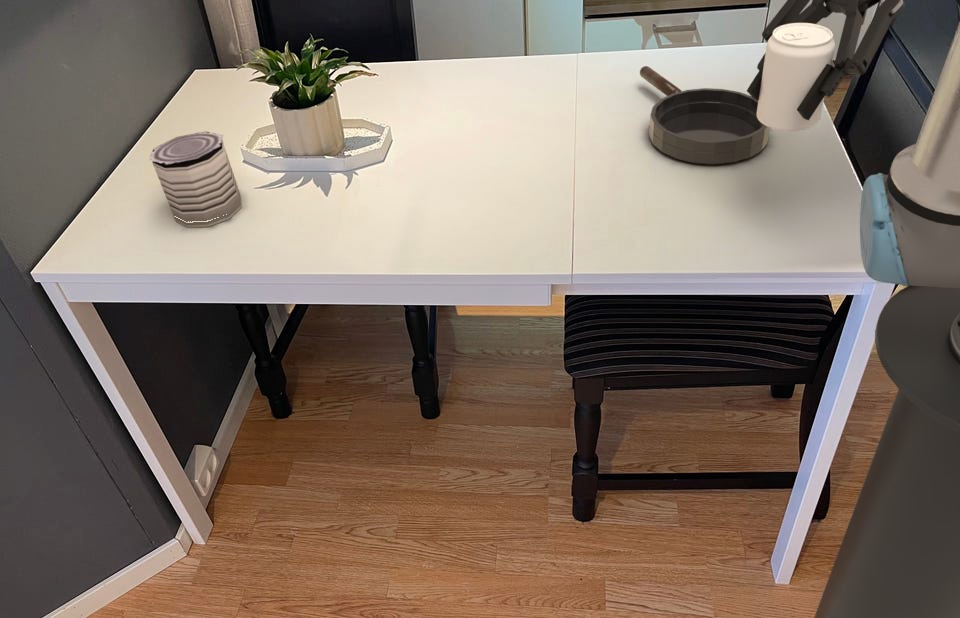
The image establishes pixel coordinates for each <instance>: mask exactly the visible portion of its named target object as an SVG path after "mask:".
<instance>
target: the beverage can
mask: <svg viewBox="0 0 960 618" xmlns="http://www.w3.org/2000/svg"><path fill="white" fill-rule="evenodd" d="M833 37H834V33H833V32H832V31H831V29H830V28H828V27H826V26H823V25H821V24H818V23H817V24H811V23H791V24H785V25H782V26H779V27H777V28H776V29H775V30H774V31H773V34H772V36H771V37H770V38H769V40H768V42H766V47H765V52H766V54H765V53H764V54H765V60H764V67H763V74H762V81H761V88H760V94H759V101H758V107H757V118H758V120H759V121H760V122H761V123H762V124H764V125H766V126H768V127H770V129H773V130H775V131H779V132H787V133H788V132H799V131H805V130H808V129H811V128H813V127H815V126H816V125H817V124H818V123H820V120H821V116H822V111H823V106H824V102H825V98H826V96H824V98H823V99H822V101H821V103H820V104H819V106H818V107H817V109H816V110H815V112H814V113H813V115H812V116H811V118H810V119H809V120H806V119H804V118H803V117H802V116H801V115H800V113H799V112H798V111H797V108H798V107H799V105H800V104H801V102H802V101H803V99H804V98H805V96H806V95H807V93H808V92H809V90H810V89H811V87H812V86H813V84H814V83H815V81H816V79H817V78H818V76H819V75H820V73H821V72H822V70H823V69H824V68H825V66H826V65H827V64H829V65H832V63H833V58H834V55H835V49H836V43H835V40H834V38H833Z"/></svg>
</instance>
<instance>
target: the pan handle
mask: <svg viewBox="0 0 960 618" xmlns="http://www.w3.org/2000/svg"><path fill="white" fill-rule="evenodd" d="M639 75H640V77H641V78H642V79H644V80H645V81H646V82H648V83H649V84H650V85H652V86H653V87H654V88H656V89H657V90H658V91H660V92H661V93H662V94H664V96H665V97H666V96H669V95H671V94H673V93H677V92H681V91H682V90H681V88H679V87H678V86H676V85H675V84H673V83H672V82H671V81H669V80H668V79H666V77H664V76H662V75H661V74H659V73H658V71H656V70H654V69H652V68H651V67H649V66H648V65H646V66H642V67H640V69H639Z"/></svg>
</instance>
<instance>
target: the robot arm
mask: <svg viewBox="0 0 960 618" xmlns="http://www.w3.org/2000/svg"><path fill="white" fill-rule="evenodd" d="M810 1H811V0H786V1H785V3H783V6H782V7H781V8H780V9H779V11H777V13H776V15H775V16H774V17H773V18H772V19H771V20H770V22H769V23H768V24H767V26H766V27H765V28H764V30H763V31H762V32H761V37H762V38H763V40H764V41H765V42H766V43H767V42H768V40H769V38H770V37H771V36H772V34H773V31H774V30H775V29H776V28H777V27H779V26H782V25H785V24H791V23H811V24H817V25H818V23H819V22H820V21H821V20H822V19H826V18H828V17H829V16H831V14H833V13H835V14H843V15H845V20H844V23H843V28H842V31H841V36H840V40H839V44H838V47H837V52H836V55H835V59H832V63H833V64H834V66H833V65H832V64H831V65H829V64H827V65H826V66H825V68H824V69H823V70H822V72H821V73H820V75H819V76H818V78H817V79H816V81H815V83H814V84H813V86H812V87H811V89H810V90H809V92H808V93H807V95H806V96H805V98H804V99H803V101H802V102H801V104H800V105H799V107H798V108H797V111H798V112H799V113H800V115H801V116H802V117H803V118H804V119H806V120H809V119H810V118H811V116H812V115H813V113H814V112H815V110H816V109H817V107H818V106H819V104H820V103H821V101H822V99H823V98H824V99H825V97H826V98H830V97H832V96H833V95H834V93H835V92H836V91H837V89H838V88H839V86H840V84H841V83H842V81H843V80H844V79H845V77H847V76H848V75H853V74H855V75H857V76H863V75H864V74H865V73H866V72H867V70H868V68H869V66H870V65H871V62H872V60H873V59H874V57H875V55H876V53H877V51H878V48H879V47H880V45H881V43H882V41H883V39H884V37H885V35H886V33H887V32H888V29H889V28H890V25H891V24H892V22H893V20H894V19H895V18H896V17H897V16H898V15H899V14H900V13H901V12H903V10H904V8H905V7H906V6H905V2H904V0H812V1H811V3H810ZM809 3H810V4H809ZM808 4H809V5H808ZM877 4H878V8H877V9H876V12H875V13H874V15H873V17H872V19H871V20H870V23H869V25H868V27H867V29H866V31H865V33H864V35H863V37H862V39H861V40H860V43H859V44H858V41H859V37H860V33H861V30H862V26H863V25H864V24H865V19H866V15H867V11H868V10H869V9H870V8H872V7H874V6H875V5H877ZM807 5H808V6H807ZM857 46H858V47H857ZM765 54H766V51H765V52H764V54H763V55H762V57H761V59H760V60H759V62H758V63H757V66H756V68H757V70H758V71H757V74H755V76H754V78H753V80H752V81H751V83H750V84H749V86H748V87H747V89H746V92H747V93H748V95H749V96H752V97H753V99H755V100H757V101H759V94H760V88H761V81H762V74H763V67H764V60H765ZM824 96H825V97H824ZM924 117H925V118H924V120H923V123H922V126H921V129H920V131H919V134H918V137H917V140H916V143H914V144H911V145H909V146H907V147H905V148H904V149H902V150H901V151H899V152H898V153H897V154H896V155H895V157H894V158H893V161H892V162H891V165H890V168H889V170H888V174H884V173H881V172H878V173H877V174H871V175H869V176H868V177H867V178H866V179H865V181H864V183H863V186H862V191H861V197H860V208H859V209H860V210H859V245H860V254H861V255H860V256H861V261H862V266H863V268H864V271H865V273H866V275H867V276H868V277H869V278H871V279H872V280H873V281H876V282H879V283H884V284H885V283H886V284H893V285H900V286H903V287H907V286H909V285H911V286H928V287H946V288H960V21H959V22H958V25H957V28H956V31H955V34H954V36H953V39H952V42H951V44H950V48H949V50H948V53H947V56H946V59H945V62H944V65H943V67H942V70H941V72H940V75H939V78H938V81H937V84H936V87H935V90H934V92H933V95H932V98H931V101H930V103H929V106H928V110H927V111H926V115H925V116H924ZM948 343H949V347H950V350H951V352H952V354H953V356H954V357H955V359H956V360H957V361H958V363H959V364H960V313H959V314H958V315H957V317H956V318H955V320H954V322H953V324H952V326H951V329H950V331H949V335H948Z"/></svg>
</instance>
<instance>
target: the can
mask: <svg viewBox="0 0 960 618" xmlns="http://www.w3.org/2000/svg"><path fill="white" fill-rule="evenodd" d="M223 138H224V134H220V133H215V132H211V131H206V130H205V131H199V132H195V133H194V132H193V133H189V134H184V135H179V136H175V137H174V138H172V139H170V140H167V141H165V142H164V143H162V144H160V145H157V146H155V147H153V149H152V151H151V153H150V156H149V158H148V161H150V162H151V163H152V165H153V168H154V171H155V173H156V176H157V178H158V180H159V181H158V182H159V184H160V186H161V189H162V190H163V193H164V196H165V198H166V201H167V203H168V205H169V206H168V207H169V208H170V210H171V213H172V216H173V215H174V216H176V217H178V218H180V219H182V220H184V221H186V222H188V221H189V222H190V221H191V222H192V221H207V220H211V219H213V220H211V221H208V222H193V223H186V222H184V221H182V220H180V219H178V218H176V217H174V216H173V218H174V221H175V222H176V223H178V224H180V225H181V226H183V227H185V228H188V229H192V228H193V229H194V228H210V227H213V226H215V225H218V224H220V223H223V222H226V221H228V220H230V219H231V218H232V217H234V215H236V214H237V213H238V212H239V211H240V210H241V209H242V208H243V205H242V197H241V196H242V195H241V193H240V189H239V187H238V184H237V180H236V178H235V177H236V176H235V174H234V171H233V168H232V166H231V162H230V159H229V156H228V153H227V150H226V147H225V143H224V140H223ZM226 214H227V215H226ZM223 215H224V216H223ZM217 217H219V218H217ZM214 218H216V219H214Z"/></svg>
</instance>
